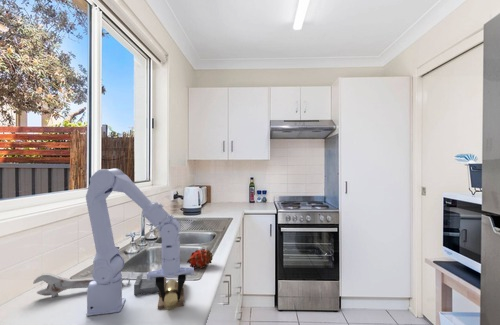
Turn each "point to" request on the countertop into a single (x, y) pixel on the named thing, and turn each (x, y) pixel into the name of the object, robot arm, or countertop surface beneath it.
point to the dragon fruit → (200, 258)
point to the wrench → (63, 284)
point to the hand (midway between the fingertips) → (171, 299)
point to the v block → (145, 286)
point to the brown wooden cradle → (179, 302)
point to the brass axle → (171, 294)
